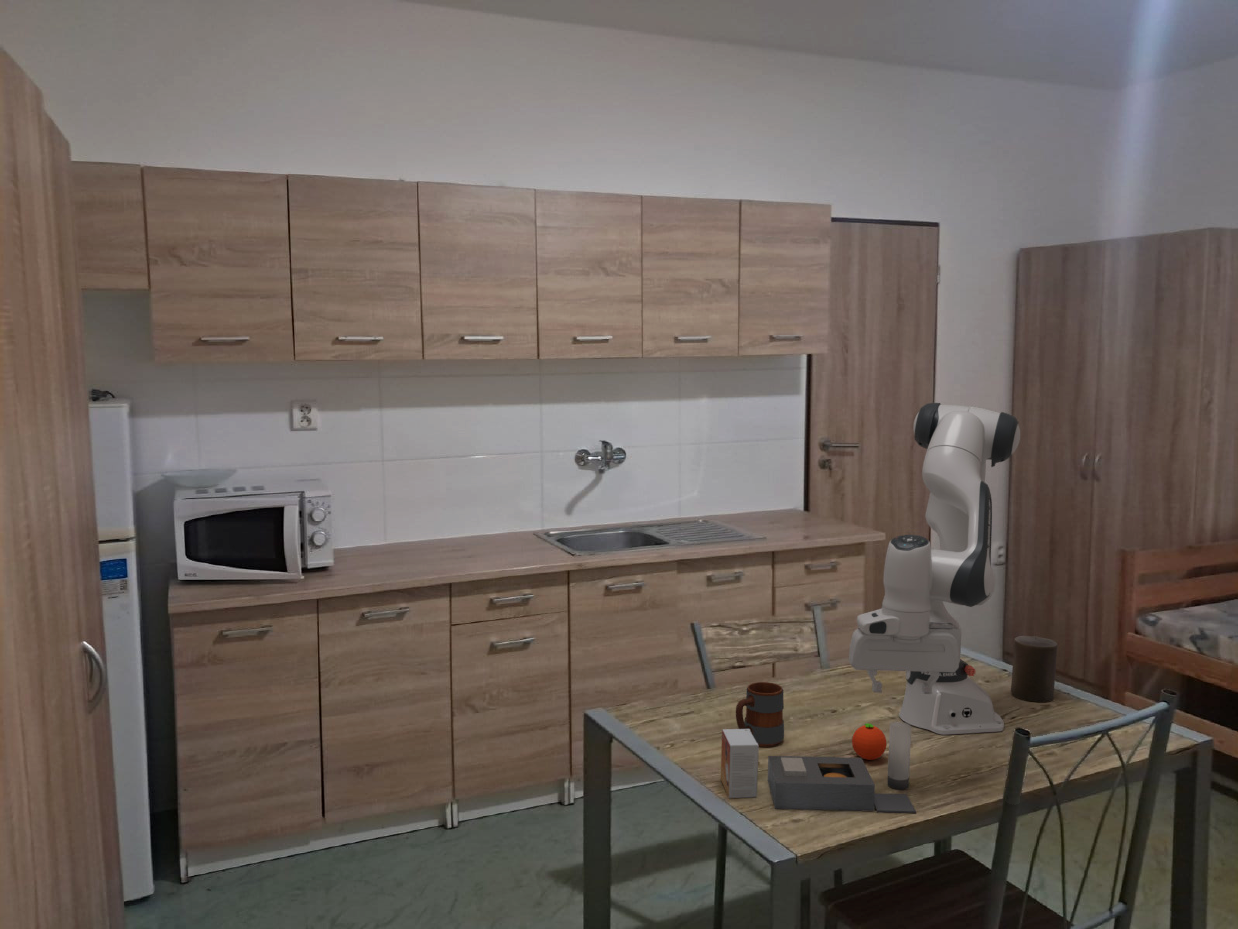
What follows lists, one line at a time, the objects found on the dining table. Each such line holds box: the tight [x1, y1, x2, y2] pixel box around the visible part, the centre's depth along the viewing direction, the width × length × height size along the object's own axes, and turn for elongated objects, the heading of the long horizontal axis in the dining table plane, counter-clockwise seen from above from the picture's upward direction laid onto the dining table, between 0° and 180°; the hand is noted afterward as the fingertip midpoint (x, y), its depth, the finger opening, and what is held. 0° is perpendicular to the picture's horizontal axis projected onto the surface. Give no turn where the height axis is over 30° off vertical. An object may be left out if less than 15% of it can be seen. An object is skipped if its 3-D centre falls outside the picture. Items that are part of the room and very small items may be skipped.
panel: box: [767, 755, 876, 812], centre depth 188 cm, size 18×12×6 cm, turn 88°
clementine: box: [851, 723, 888, 761], centre depth 206 cm, size 8×7×7 cm
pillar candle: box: [1010, 635, 1058, 704], centre depth 242 cm, size 10×10×15 cm
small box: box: [720, 728, 760, 799], centre depth 191 cm, size 8×6×10 cm
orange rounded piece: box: [824, 773, 846, 777], centre depth 188 cm, size 4×4×2 cm
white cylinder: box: [886, 721, 912, 791], centre depth 192 cm, size 4×4×12 cm
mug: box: [735, 681, 785, 748], centre depth 213 cm, size 9×12×12 cm
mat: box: [874, 792, 917, 814], centre depth 185 cm, size 7×7×1 cm
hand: (901, 692), depth 191 cm, fingers open, 8 cm apart
